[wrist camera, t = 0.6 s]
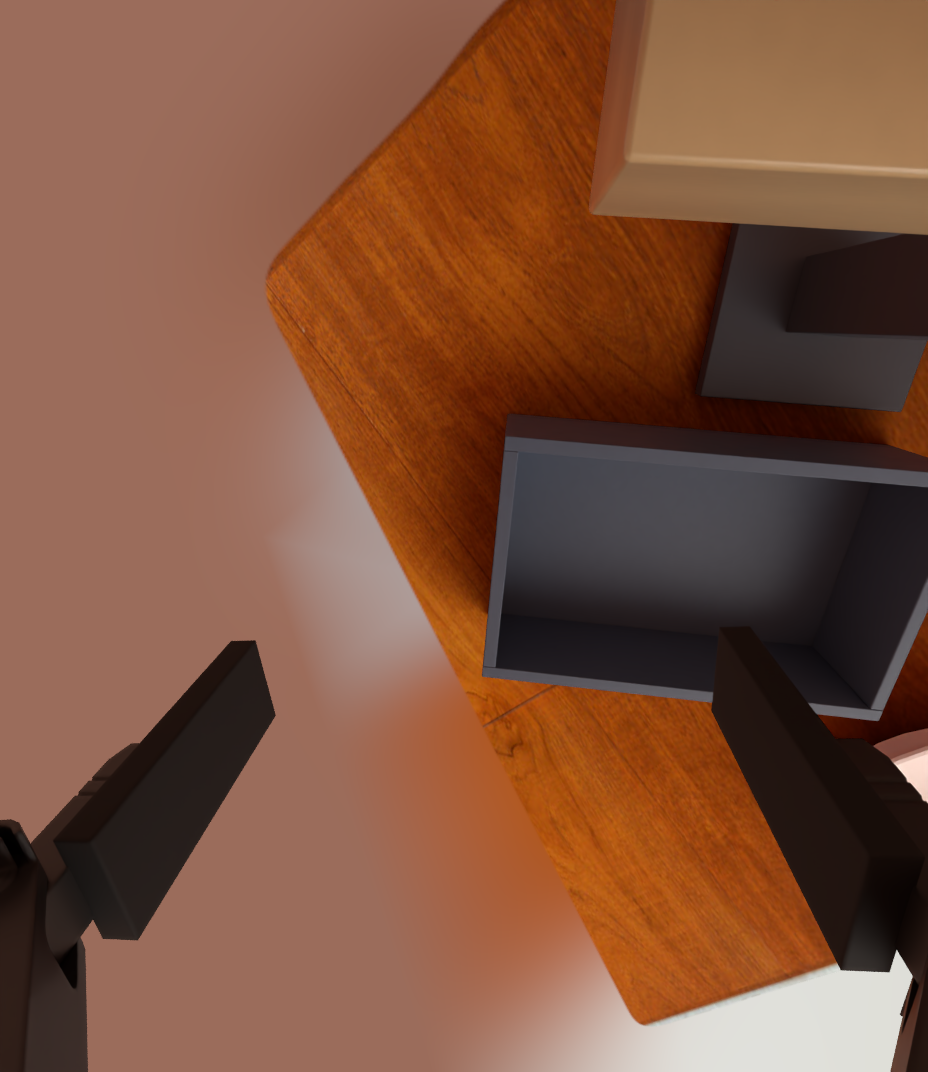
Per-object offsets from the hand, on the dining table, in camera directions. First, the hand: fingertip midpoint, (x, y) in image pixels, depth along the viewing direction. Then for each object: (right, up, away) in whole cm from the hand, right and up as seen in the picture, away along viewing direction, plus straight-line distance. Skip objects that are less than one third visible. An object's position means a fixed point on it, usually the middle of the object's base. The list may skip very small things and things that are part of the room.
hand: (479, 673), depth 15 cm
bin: (+14, +4, +23) cm, 27 cm away
